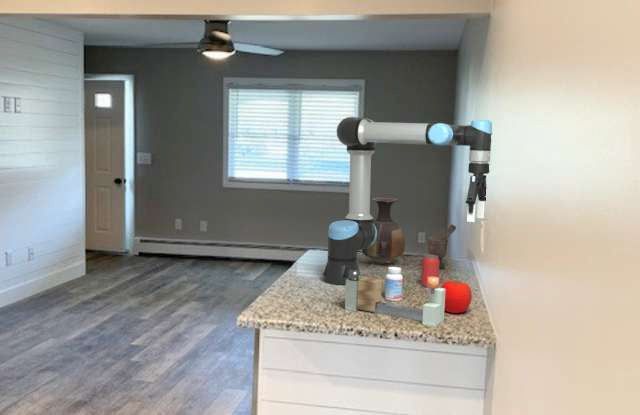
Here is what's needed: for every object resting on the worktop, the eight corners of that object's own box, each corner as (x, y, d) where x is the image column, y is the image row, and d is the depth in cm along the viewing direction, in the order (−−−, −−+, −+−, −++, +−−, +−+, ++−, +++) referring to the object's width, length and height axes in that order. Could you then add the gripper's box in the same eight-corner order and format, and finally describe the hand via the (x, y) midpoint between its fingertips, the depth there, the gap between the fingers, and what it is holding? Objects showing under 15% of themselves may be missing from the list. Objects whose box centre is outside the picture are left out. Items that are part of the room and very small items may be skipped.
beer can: (438, 288, 231) (439, 257, 230) (420, 287, 232) (422, 256, 231) (438, 284, 238) (439, 254, 236) (421, 283, 239) (422, 253, 237)
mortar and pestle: (451, 265, 275) (453, 222, 273) (454, 270, 266) (457, 225, 264) (425, 264, 276) (428, 221, 273) (428, 268, 267) (430, 224, 265)
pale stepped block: (422, 324, 185) (424, 292, 184) (431, 317, 192) (433, 286, 191) (434, 326, 183) (436, 294, 182) (443, 319, 190) (445, 288, 189)
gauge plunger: (425, 293, 184) (426, 277, 183) (429, 291, 187) (429, 275, 186) (436, 295, 182) (436, 279, 182) (439, 293, 185) (440, 277, 185)
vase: (368, 257, 288) (370, 195, 285) (408, 261, 281) (411, 198, 278) (354, 266, 266) (357, 199, 263) (397, 271, 260) (400, 202, 257)
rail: (344, 309, 198) (346, 270, 197) (355, 304, 205) (356, 266, 204) (422, 323, 185) (424, 282, 184) (431, 317, 192) (433, 277, 191)
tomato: (441, 305, 207) (442, 275, 205) (472, 310, 203) (474, 278, 201) (434, 313, 197) (436, 281, 196) (467, 318, 193) (469, 285, 192)
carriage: (357, 308, 197) (358, 279, 196) (364, 304, 202) (365, 276, 201) (374, 311, 195) (375, 282, 193) (381, 307, 199) (382, 279, 198)
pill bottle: (397, 302, 209) (398, 270, 208) (381, 299, 213) (383, 268, 211) (404, 298, 214) (406, 267, 213) (389, 296, 218) (390, 265, 216)
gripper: (481, 163, 208) (477, 224, 211) (497, 162, 230) (493, 217, 232) (459, 162, 212) (456, 222, 214) (477, 161, 234) (474, 215, 236)
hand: (475, 219), depth 223 cm, fingers open, 13 cm apart
